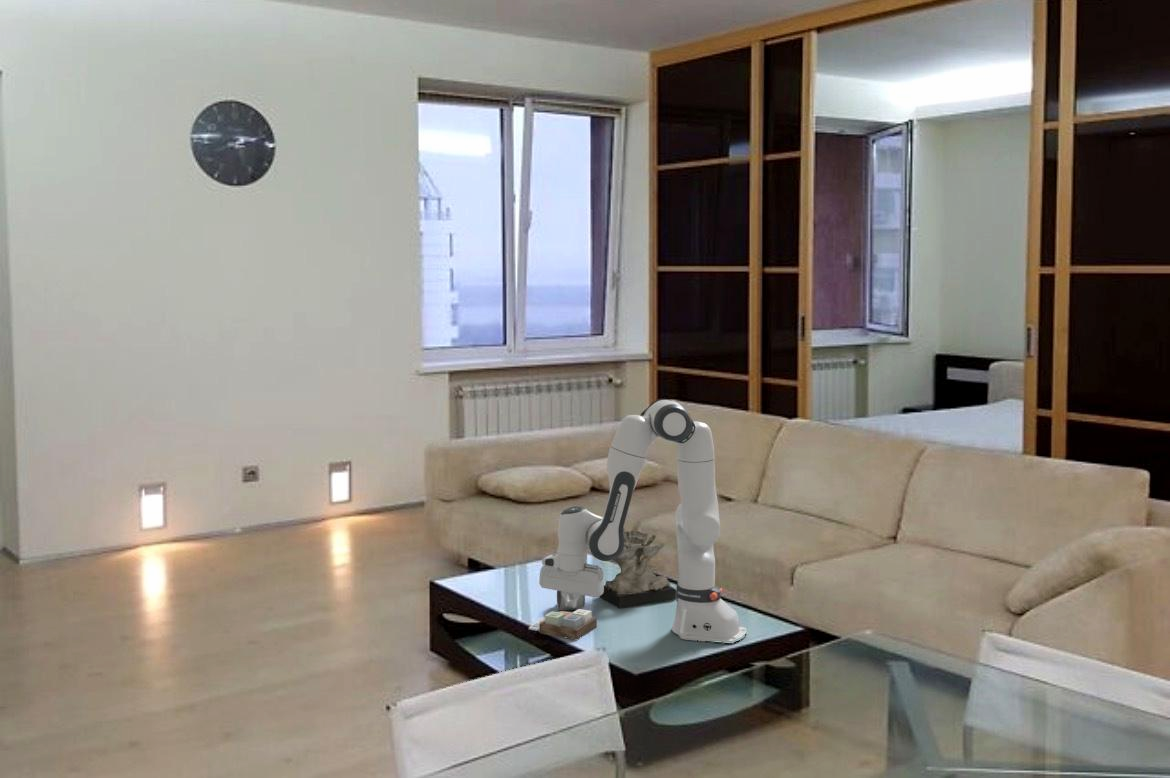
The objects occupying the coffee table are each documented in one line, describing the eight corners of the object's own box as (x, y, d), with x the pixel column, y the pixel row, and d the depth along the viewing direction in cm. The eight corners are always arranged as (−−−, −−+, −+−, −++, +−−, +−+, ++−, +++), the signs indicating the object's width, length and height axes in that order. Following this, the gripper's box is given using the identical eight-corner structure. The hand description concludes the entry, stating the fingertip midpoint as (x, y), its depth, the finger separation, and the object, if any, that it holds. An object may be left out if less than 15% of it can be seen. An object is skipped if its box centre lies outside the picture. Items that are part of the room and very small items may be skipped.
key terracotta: (574, 624, 355) (574, 612, 355) (567, 628, 351) (567, 616, 351) (561, 621, 357) (561, 610, 357) (554, 626, 353) (554, 614, 353)
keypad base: (596, 627, 353) (596, 617, 353) (577, 640, 342) (577, 630, 341) (559, 620, 359) (559, 611, 358) (539, 633, 347) (539, 623, 347)
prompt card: (552, 621, 358) (552, 618, 358) (536, 630, 349) (536, 628, 349) (544, 619, 360) (544, 617, 359) (528, 629, 351) (528, 626, 351)
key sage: (564, 624, 350) (564, 613, 349) (557, 629, 346) (557, 617, 345) (551, 622, 352) (552, 610, 351) (544, 626, 348) (544, 614, 347)
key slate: (582, 627, 347) (582, 616, 346) (575, 632, 343) (575, 620, 343) (569, 625, 349) (569, 613, 348) (562, 629, 345) (562, 618, 345)
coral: (609, 610, 369) (609, 545, 367) (581, 593, 387) (582, 530, 385) (677, 600, 380) (678, 536, 377) (647, 583, 398) (648, 522, 395)
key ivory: (591, 622, 352) (591, 610, 352) (584, 626, 348) (584, 614, 348) (578, 619, 354) (578, 608, 354) (571, 624, 350) (571, 612, 350)
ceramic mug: (586, 611, 368) (586, 588, 367) (560, 613, 366) (560, 589, 365) (578, 602, 378) (578, 579, 377) (553, 603, 376) (553, 580, 375)
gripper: (608, 564, 341) (606, 609, 343) (547, 554, 351) (546, 598, 352) (598, 569, 336) (597, 615, 338) (537, 558, 345) (536, 603, 347)
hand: (570, 606), depth 345 cm, fingers closed
